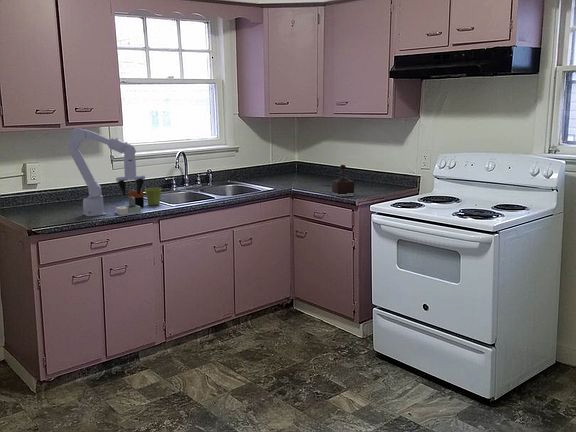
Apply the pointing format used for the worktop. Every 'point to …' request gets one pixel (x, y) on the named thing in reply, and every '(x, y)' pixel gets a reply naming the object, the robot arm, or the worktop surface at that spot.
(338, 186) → the brown bottle
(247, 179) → the worktop surface
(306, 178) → the worktop surface
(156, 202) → the plant pot
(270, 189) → the worktop surface
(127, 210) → the charger
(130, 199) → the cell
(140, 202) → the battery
